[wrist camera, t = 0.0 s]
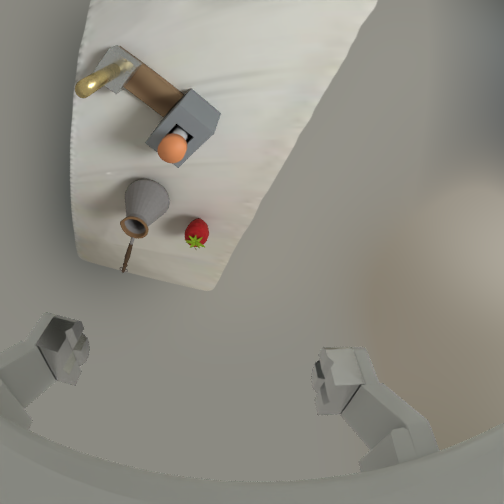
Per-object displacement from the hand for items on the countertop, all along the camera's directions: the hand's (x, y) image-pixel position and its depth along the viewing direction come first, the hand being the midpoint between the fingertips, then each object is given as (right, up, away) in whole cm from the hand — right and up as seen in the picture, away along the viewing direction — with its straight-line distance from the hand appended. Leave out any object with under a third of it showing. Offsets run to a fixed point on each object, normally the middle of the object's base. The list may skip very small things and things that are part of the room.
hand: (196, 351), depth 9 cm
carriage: (-23, +38, +33) cm, 56 cm away
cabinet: (-11, +30, +44) cm, 55 cm away
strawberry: (-12, +12, +66) cm, 68 cm away
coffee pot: (-26, +15, +62) cm, 69 cm away
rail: (-20, +37, +37) cm, 56 cm away
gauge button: (-11, +27, +42) cm, 51 cm away
